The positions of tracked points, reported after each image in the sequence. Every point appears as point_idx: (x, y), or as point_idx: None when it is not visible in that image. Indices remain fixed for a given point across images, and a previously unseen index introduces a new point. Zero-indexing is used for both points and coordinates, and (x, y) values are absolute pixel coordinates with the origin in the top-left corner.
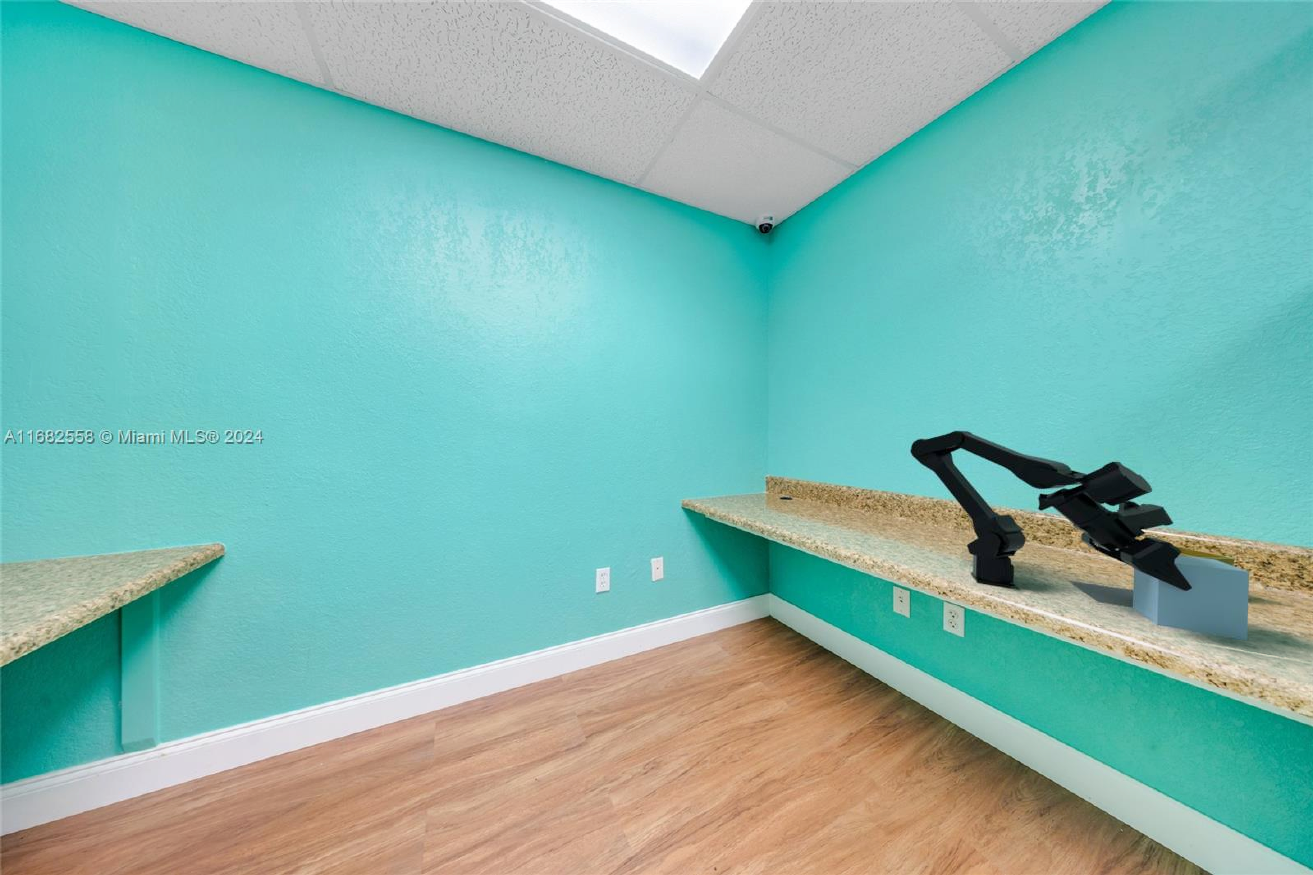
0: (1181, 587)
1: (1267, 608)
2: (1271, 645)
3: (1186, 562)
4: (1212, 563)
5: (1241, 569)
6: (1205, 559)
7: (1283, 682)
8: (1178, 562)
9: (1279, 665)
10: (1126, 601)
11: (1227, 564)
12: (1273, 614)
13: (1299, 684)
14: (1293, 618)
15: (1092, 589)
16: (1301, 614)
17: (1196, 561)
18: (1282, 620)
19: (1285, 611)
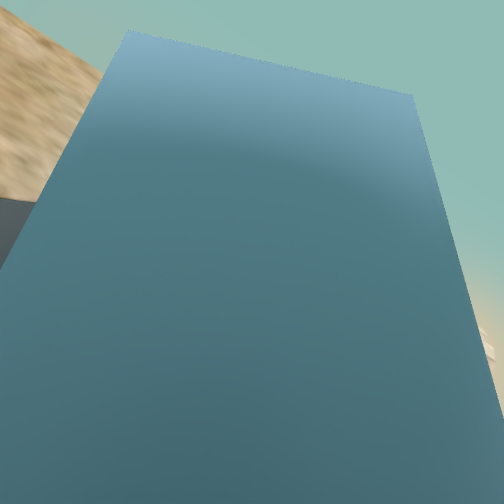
0: None
1: (12, 55)
2: None
3: (382, 309)
4: (281, 124)
5: (369, 88)
6: (153, 78)
7: (492, 350)
8: (451, 407)
9: None
10: None
11: (263, 65)
12: (54, 75)
13: (479, 326)
14: (72, 63)
15: None
16: (40, 34)
17: (270, 187)
18: (93, 89)
19: (26, 42)
